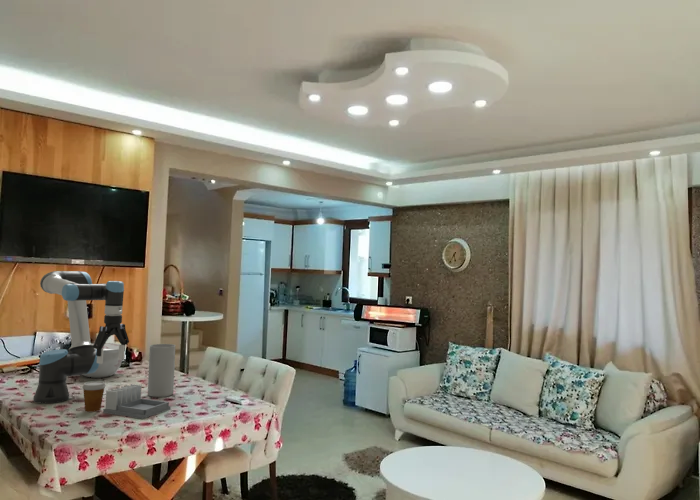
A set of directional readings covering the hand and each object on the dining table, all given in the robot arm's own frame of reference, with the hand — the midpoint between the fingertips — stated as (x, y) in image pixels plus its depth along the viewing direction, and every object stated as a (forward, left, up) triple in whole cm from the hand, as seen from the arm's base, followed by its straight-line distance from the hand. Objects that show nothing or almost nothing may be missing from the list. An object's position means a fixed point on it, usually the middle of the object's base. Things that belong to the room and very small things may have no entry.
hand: (110, 361), depth 249 cm
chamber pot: (-60, +54, -22) cm, 84 cm away
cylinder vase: (+2, +33, -22) cm, 40 cm away
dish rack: (+14, +3, -22) cm, 26 cm away
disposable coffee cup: (-4, -5, -22) cm, 23 cm away
